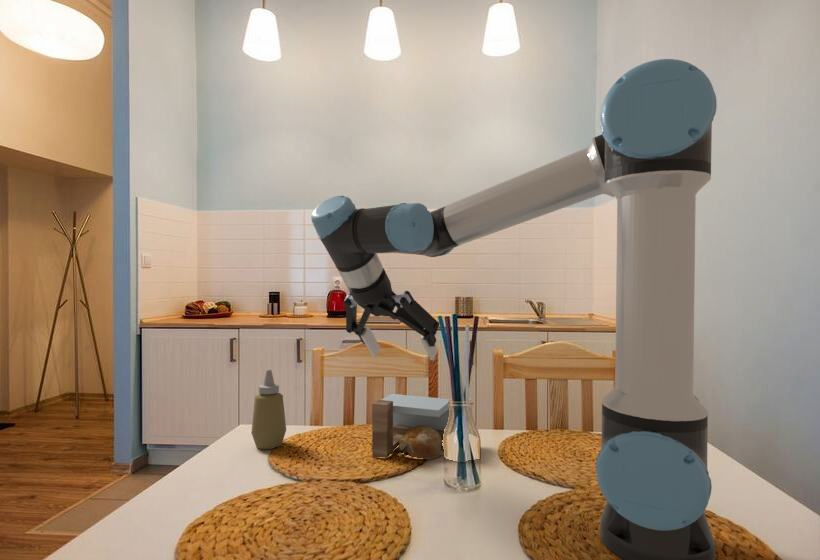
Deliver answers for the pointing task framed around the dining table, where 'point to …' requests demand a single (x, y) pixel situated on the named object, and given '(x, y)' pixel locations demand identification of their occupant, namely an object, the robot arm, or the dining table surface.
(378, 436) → the wooden l-shaped post
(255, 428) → the squeeze bottle
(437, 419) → the low gray box
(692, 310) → the robot arm
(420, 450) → the bread roll
